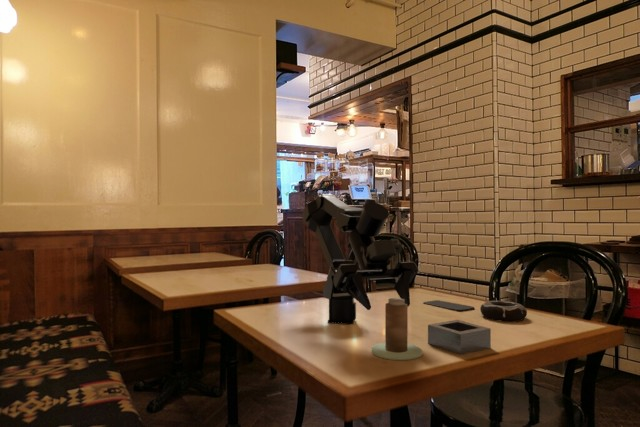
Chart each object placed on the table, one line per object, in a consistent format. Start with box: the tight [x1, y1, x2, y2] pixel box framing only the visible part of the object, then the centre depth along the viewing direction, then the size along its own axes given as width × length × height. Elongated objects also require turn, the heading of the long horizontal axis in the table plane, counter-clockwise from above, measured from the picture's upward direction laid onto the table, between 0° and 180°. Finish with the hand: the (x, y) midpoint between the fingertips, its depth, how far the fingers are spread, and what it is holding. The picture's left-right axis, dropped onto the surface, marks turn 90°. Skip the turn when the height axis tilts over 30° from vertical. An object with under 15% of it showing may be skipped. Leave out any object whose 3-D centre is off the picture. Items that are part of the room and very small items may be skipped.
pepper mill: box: [384, 297, 409, 353], centre depth 88 cm, size 4×4×10 cm
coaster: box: [371, 341, 423, 361], centre depth 88 cm, size 10×10×1 cm
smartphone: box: [422, 299, 475, 313], centre depth 133 cm, size 7×1×15 cm
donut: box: [480, 300, 528, 323], centre depth 118 cm, size 12×12×4 cm
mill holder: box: [427, 319, 492, 355], centre depth 92 cm, size 9×9×4 cm
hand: (389, 307), depth 90 cm, fingers open, 9 cm apart
